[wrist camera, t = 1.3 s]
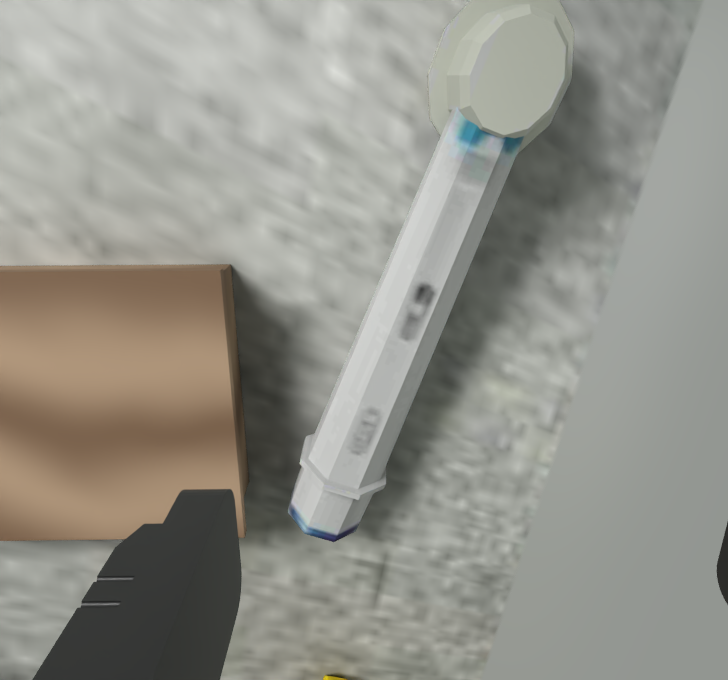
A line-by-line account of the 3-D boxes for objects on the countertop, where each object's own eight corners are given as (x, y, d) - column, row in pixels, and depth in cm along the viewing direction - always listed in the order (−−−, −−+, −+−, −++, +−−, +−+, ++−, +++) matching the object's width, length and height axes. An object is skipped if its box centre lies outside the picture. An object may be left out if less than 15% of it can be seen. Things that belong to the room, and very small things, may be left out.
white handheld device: (267, 528, 26) (492, -73, 15) (289, 444, 32) (462, -30, 21) (368, 557, 26) (652, -1, 16) (371, 469, 32) (579, 21, 22)
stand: (-122, 256, 25) (-207, 273, 21) (240, 253, 25) (220, 270, 21) (-52, 492, 29) (-113, 542, 25) (259, 488, 29) (244, 537, 26)
